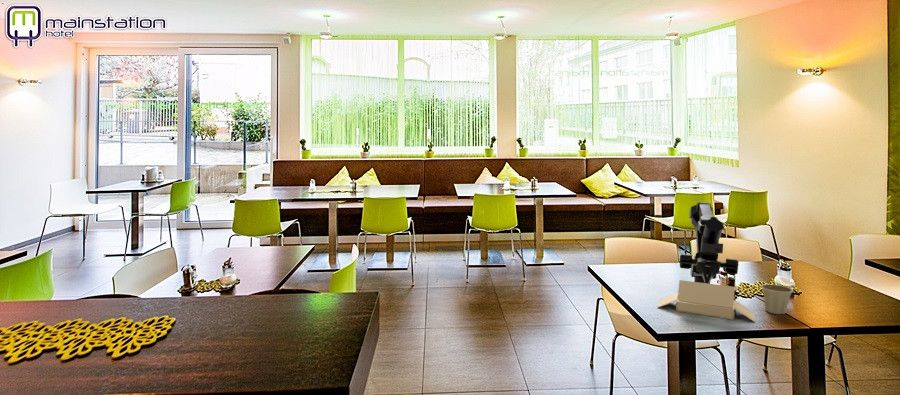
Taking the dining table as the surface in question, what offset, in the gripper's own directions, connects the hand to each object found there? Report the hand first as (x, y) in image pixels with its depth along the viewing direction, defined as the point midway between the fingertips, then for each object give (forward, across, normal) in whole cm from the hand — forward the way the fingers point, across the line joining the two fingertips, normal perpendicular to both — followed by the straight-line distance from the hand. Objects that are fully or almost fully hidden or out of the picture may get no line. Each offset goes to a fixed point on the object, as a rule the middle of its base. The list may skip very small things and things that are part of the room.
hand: (706, 284), depth 183 cm
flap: (+8, 0, 0) cm, 8 cm away
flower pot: (-1, +22, +16) cm, 27 cm away
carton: (+5, 0, +9) cm, 10 cm away
